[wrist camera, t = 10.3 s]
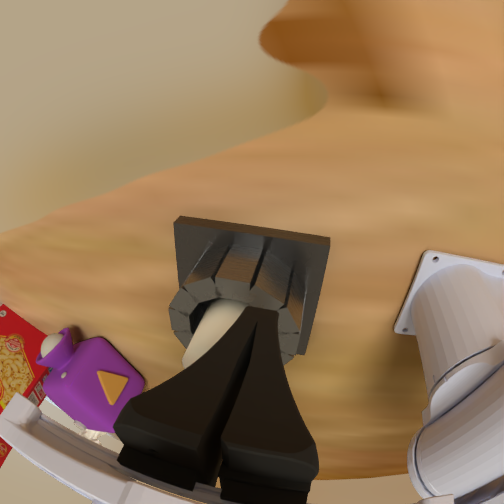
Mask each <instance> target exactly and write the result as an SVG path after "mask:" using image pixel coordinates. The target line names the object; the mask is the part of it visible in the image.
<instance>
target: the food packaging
mask: <svg viewBox="0 0 504 504" xmlns="http://www.w3.org/2000/svg"><path fill="white" fill-rule="evenodd" d="M46 337H47V335H46V334H44V333H43V332H41V331H40V330H38V329H37V328H35V327H34V326H32V325H31V324H30V323H28V322H27V321H25V320H24V319H23V318H21V317H20V316H19V315H17V314H16V313H15V312H13V311H12V310H11V309H9V308H8V307H7V306H5V305H4V304H2V305H1V306H0V415H1V413H2V412H3V410H4V409H5V407H6V406H7V405H8V403H9V402H10V400H11V399H12V398H13V396H14V395H15V393H16V392H18V393H20V394H21V395H23V396H24V397H26V398H27V399H29V400H30V401H32V402H33V403H34V404H35V405H36V406H37V407H39V406H40V404H41V403H42V401H43V400H44V398H45V397H46V394H45V392H44V390H43V384H44V381H45V380H46V378H47V377H48V375H49V374H50V372H51V371H52V369H53V368H52V367H46V366H42V365H39V364H37V363H36V358H37V356H38V355H39V353H40V351H41V345H42V343H43V341H44V339H45V338H46ZM11 449H12V447H11V446H10V445H9V444H8V443H7V442H6V441H5V440H3V439H2V438H1V437H0V467H1V466H2V464H3V462H4V460H5V459H6V457H7V455H8V454H9V452H10V451H11Z"/></svg>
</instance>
